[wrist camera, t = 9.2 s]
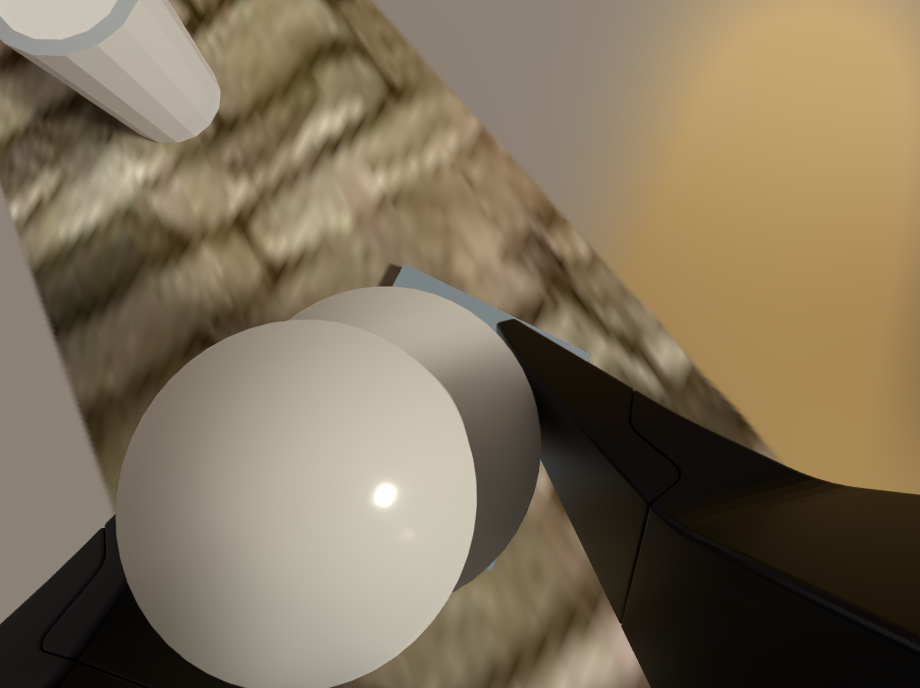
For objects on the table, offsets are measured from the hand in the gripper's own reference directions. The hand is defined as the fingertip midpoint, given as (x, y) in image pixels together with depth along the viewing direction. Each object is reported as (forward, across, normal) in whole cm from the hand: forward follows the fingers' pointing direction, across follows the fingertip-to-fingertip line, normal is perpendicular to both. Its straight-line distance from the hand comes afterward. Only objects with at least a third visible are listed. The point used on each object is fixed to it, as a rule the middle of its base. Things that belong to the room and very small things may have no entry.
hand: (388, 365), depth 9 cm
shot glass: (+24, +11, -4) cm, 26 cm away
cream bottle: (+4, 0, +6) cm, 7 cm away
